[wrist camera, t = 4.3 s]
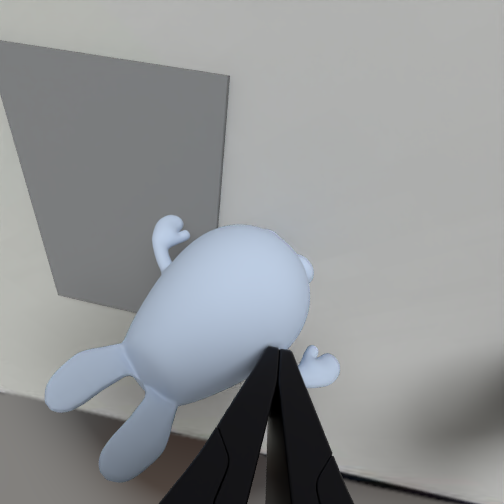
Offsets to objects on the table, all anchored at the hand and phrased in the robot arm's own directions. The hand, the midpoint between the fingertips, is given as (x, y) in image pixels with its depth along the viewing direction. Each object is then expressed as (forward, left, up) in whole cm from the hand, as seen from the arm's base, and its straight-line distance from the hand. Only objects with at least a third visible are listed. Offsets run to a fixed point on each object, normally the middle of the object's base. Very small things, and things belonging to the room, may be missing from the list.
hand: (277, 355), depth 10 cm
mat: (+10, 0, -8) cm, 13 cm away
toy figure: (0, 0, -8) cm, 8 cm away
